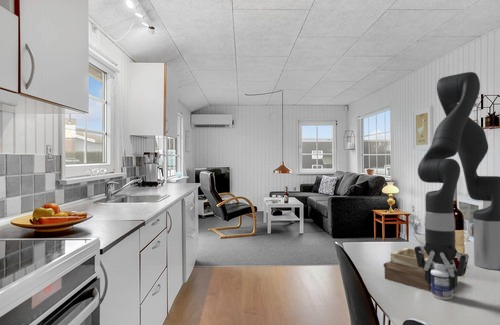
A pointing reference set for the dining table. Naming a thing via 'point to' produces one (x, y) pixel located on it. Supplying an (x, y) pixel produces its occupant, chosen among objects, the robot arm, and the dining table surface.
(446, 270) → the pill bottle
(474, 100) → the robot arm
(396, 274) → the box
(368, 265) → the dining table surface
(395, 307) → the dining table surface
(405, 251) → the top crate
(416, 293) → the dining table surface
